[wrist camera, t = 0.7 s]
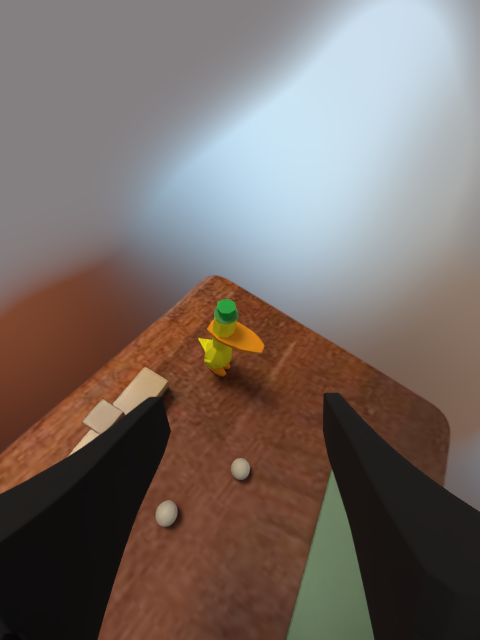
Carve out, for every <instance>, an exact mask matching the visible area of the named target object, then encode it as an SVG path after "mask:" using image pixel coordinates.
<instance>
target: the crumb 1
mask: <svg viewBox="0 0 480 640" xmlns="http://www.w3.org/2000/svg"><path fill="white" fill-rule="evenodd" d="M177 513H178V510H177V506H176V504H175V503H174V502H172V501H170V500H167V501H164V502H162V503H161V504H160V505H159V506H158V508H157V511H156V521H157V523H158V524H159V525H160V526H162V527H167V526H170V525H171V524H172V523H173V522H174V521H175V520H176V517H177Z"/></svg>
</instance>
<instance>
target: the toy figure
mask: <svg viewBox="0 0 480 640" xmlns="http://www.w3.org/2000/svg"><path fill="white" fill-rule="evenodd" d="M238 315H239V313H238V310H237V309H236V308H235V303H234V302H233V301H231V300H227V299H223V300H221V301H220V302H218V304H217V308H216V309H215V311H214V319H213V321H212V322H211V324H210V325H209V327H208V328H207V330H208V331H209V333H210V334H211V335H212V338H213V339H212V340H209V339H201V338H198V339H199V341H200V343H201V345H202V346H203V348H204V350H205V358H204V359H205V360H204V361H205V365H206V366H208V367H209V368H210V369H211V370H212V371H213V372H214V373H215V374H217V375H218V376H223V377H224V376H225V375H226V371H225V370H224V369H229V368H230V366H231V365H230V364H229V363H230V360H231V357H232V348H233V349H235V350H238V351H240V352H244V353H249V354H253V353H261V352H262V350H263V348H264V344H263V343H262V341H261V340H260V338H259V337H258V336H257V335H256V334H255V333H254V332H253V331H251V330H250V329H248V328H247V327H245V326H244V325H242V324H240V323H238V322H237V318H238Z"/></svg>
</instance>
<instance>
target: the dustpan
mask: <svg viewBox="0 0 480 640" xmlns="http://www.w3.org/2000/svg"><path fill="white" fill-rule="evenodd" d="M285 640H374V635H373V630H372V626H371V621H370V616H369V611H368V606H367V601H366V597H365V592H364V587H363V583H362V578H361V574H360V569H359V564H358V560H357V555H356V551H355V547H354V542H353V538H352V534H351V529H350V525H349V522H348V518H347V514H346V511H345V508H344V505H343V502H342V499H341V495H340V492H339V489H338V486H337V483H336V480H335V476H334V473H333V470H332V469H331V473H330V477H329V481H328V484H327V488H326V492H325V495H324V499H323V503H322V506H321V510H320V514H319V517H318V521H317V525H316V528H315V532H314V536H313V540H312V543H311V547H310V551H309V554H308V558H307V562H306V565H305V569H304V573H303V576H302V580H301V584H300V587H299V591H298V595H297V599H296V602H295V606H294V610H293V613H292V617H291V621H290V624H289V628H288V632H287V635H286V639H285Z"/></svg>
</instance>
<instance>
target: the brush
mask: <svg viewBox="0 0 480 640" xmlns="http://www.w3.org/2000/svg"><path fill="white" fill-rule="evenodd" d="M168 386H169V383H168V380H166V379H164V378H163V377H161V376H159V375H158V374H156V373H155V372H153V371H151V370H150V369H148V368H146V367H144V368H143V369H142V370H141V371H140V373H139V374H138V375H137V376H136V377H135V378H134V380H133V381H132V382H131V383H130V384H129V385H128V387H127V388H126V389H125V390H124V391H123V392H122V394H121V395H120V396H119V397H118V398H117V399H116V401H115V402H114V403H113V404H111V403H109V402H108V401H106V400H105V399H103V398H102V399H101V400H100V402H99V403H98V404H97V405H96V406H95V407H94V408H93V409H92V410H91V412H90V413H89V414H88V415H87V416H86V417H85V418H84V419H83V420H82V423H83V424H84V425H86V426H87V427H89V428H90V429H91V430H90V431H89V432H88V433H87V434H86V435H85V437H84V438H83V439H82V440H81V441H80V442H79V444H78V445H77V446H76V447H75V448H74V449H73V451H72V452H71V453H70V454H69V455H68V456H70V455H71V454H73V453H74V452H76V451H77V450H79V449H80V448H82V447H83V446H85V445H86V444H88V443H89V442H90V441H92V440H93V439H95V438H96V437H97V436H99V435H100V434H101V433H103V432H104V431H106V430H107V429H108V428H110V427H111V426H112V425H113V424H115V423H116V422H117V421H119V420H120V419H121V418H122V417H124V416H125V415H126V414H127V413H129V412H130V411H131V410H133V409H134V408H135V407H136V406H138V405H139V404H140V403H142V402H143V401H144V400H146V399H147V398H148V397H163V396H164V395H165V393H166V392H167V391H168V389H169V387H168ZM68 456H67V457H68Z"/></svg>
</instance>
